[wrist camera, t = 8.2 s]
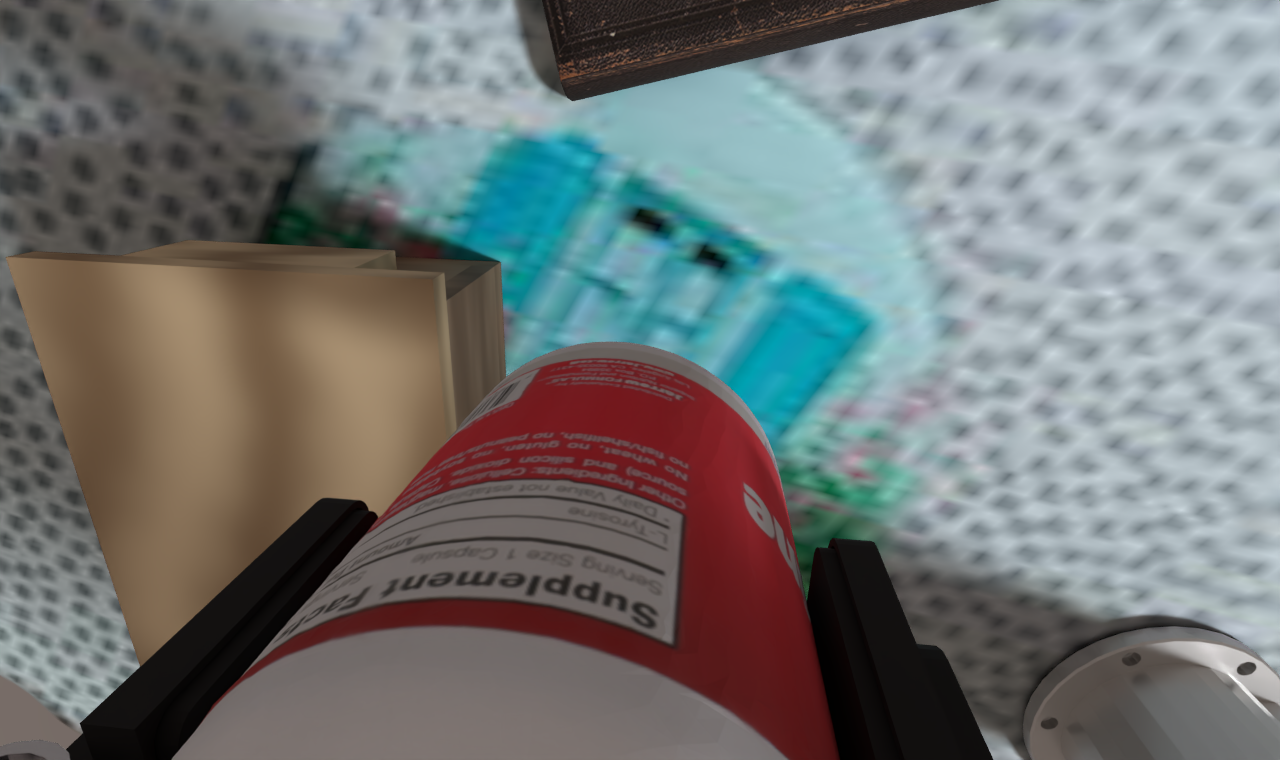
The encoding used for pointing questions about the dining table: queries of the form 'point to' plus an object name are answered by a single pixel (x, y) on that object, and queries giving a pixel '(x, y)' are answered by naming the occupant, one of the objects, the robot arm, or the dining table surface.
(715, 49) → the hardcover book
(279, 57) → the dining table surface
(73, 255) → the toolbox lid
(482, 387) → the brown boxy piece
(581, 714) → the pill bottle
